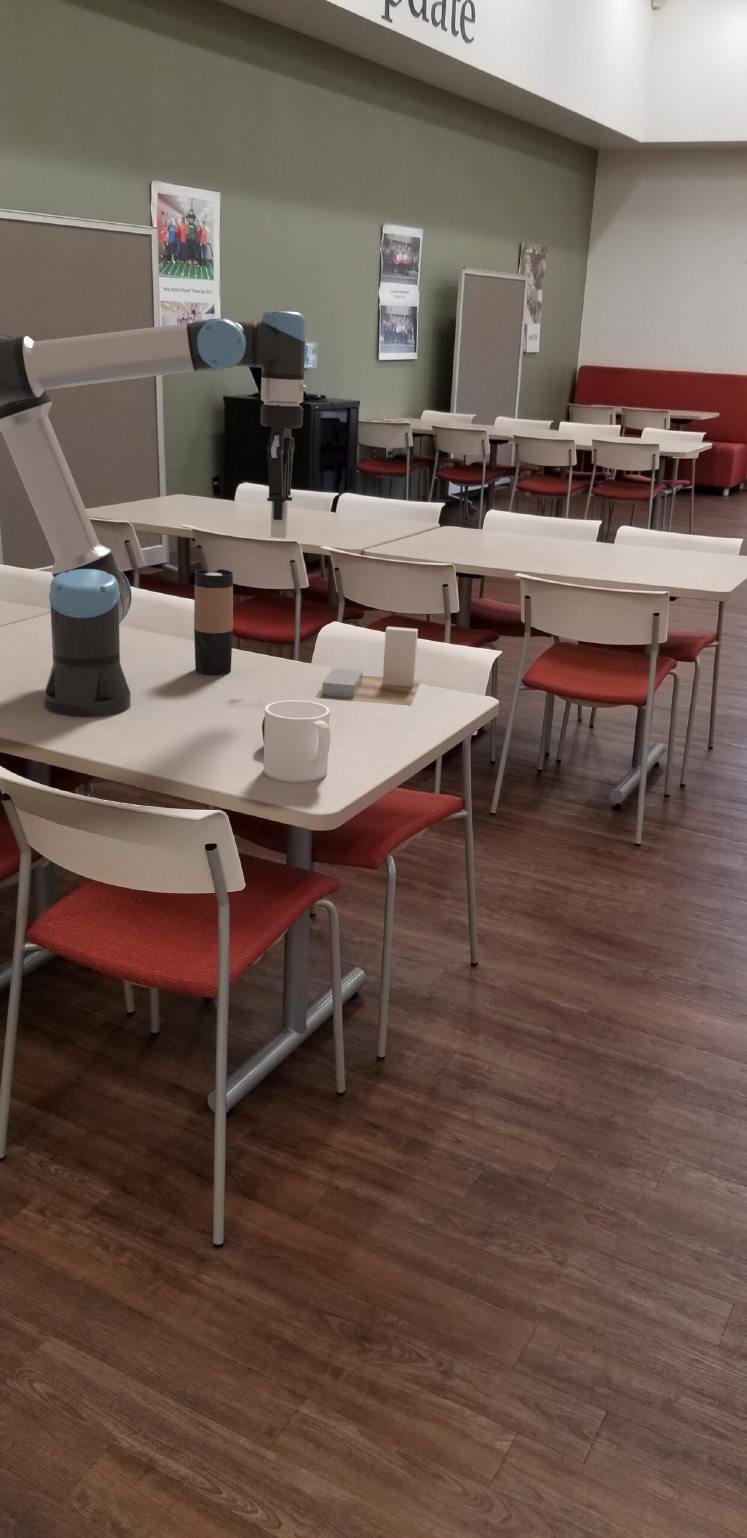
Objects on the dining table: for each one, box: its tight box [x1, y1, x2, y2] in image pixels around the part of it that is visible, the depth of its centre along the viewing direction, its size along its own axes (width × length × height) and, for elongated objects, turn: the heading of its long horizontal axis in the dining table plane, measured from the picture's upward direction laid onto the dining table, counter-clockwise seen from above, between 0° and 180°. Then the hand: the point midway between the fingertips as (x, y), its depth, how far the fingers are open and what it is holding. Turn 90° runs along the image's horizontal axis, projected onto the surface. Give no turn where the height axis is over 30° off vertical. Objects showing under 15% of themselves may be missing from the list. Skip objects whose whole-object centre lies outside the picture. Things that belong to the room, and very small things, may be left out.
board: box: [315, 674, 421, 707], centre depth 231 cm, size 18×18×1 cm
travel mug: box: [193, 568, 234, 676], centre depth 238 cm, size 8×8×20 cm
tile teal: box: [321, 667, 364, 698], centre depth 229 cm, size 2×6×11 cm
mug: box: [263, 699, 331, 784], centre depth 185 cm, size 13×10×10 cm
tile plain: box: [382, 626, 419, 687], centre depth 233 cm, size 2×6×11 cm, turn 82°
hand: (278, 536), depth 220 cm, fingers closed
